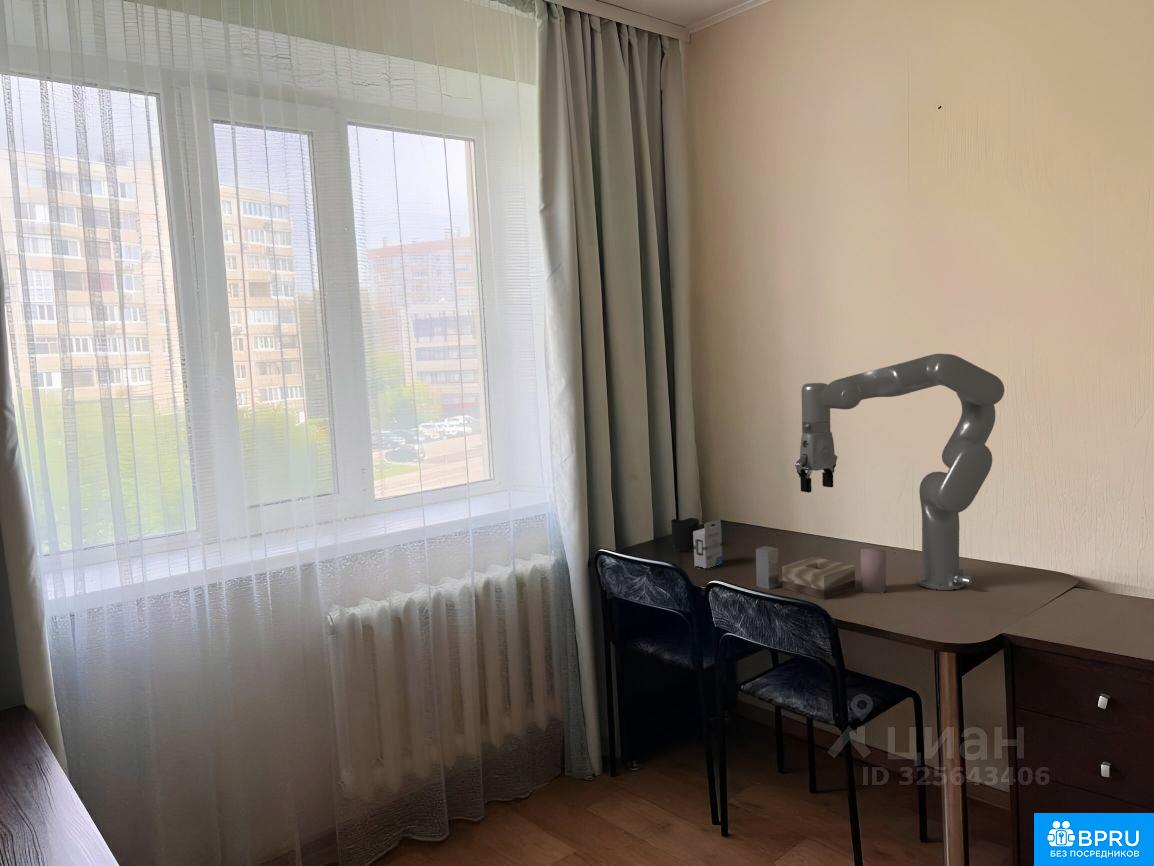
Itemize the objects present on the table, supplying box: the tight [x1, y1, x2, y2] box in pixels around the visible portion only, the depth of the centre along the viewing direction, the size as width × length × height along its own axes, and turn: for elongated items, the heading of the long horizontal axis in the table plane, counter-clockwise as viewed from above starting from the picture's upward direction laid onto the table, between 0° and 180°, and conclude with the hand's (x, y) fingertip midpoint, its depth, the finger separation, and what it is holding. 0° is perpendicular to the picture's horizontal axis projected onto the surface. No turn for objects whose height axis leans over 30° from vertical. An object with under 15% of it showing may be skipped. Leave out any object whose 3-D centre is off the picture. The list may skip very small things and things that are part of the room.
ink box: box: [693, 518, 723, 569], centre depth 265 cm, size 8×5×15 cm, turn 133°
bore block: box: [781, 556, 856, 600], centre depth 237 cm, size 14×14×6 cm
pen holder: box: [670, 517, 700, 551], centre depth 287 cm, size 9×9×10 cm
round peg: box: [860, 547, 887, 594], centre depth 233 cm, size 6×6×11 cm
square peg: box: [755, 545, 780, 590], centre depth 241 cm, size 4×4×11 cm
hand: (817, 489), depth 235 cm, fingers open, 9 cm apart
